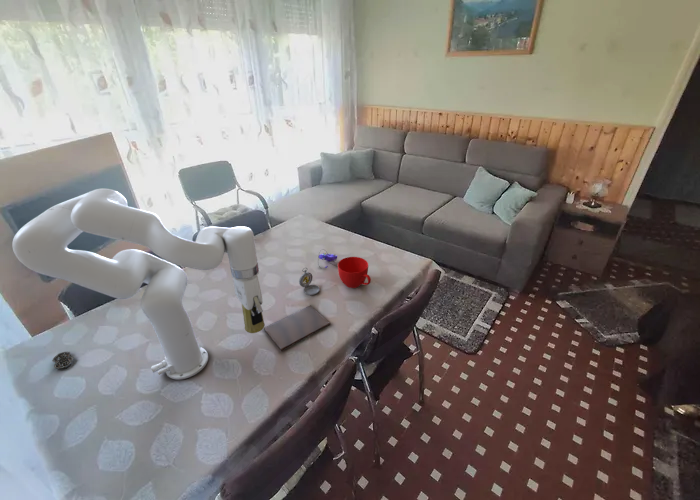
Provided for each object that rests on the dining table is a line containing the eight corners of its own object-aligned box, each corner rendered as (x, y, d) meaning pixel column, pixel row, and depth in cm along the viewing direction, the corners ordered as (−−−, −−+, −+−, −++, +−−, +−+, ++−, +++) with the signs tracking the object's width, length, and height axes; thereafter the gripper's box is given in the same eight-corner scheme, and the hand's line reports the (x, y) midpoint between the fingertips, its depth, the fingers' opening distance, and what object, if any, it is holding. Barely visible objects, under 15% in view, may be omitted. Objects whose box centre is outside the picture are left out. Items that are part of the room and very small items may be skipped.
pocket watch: (317, 297, 133) (315, 277, 128) (297, 294, 135) (295, 274, 130) (322, 285, 140) (321, 266, 135) (304, 283, 141) (302, 264, 136)
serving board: (281, 351, 108) (281, 349, 108) (264, 329, 117) (263, 327, 116) (329, 324, 119) (329, 322, 118) (310, 307, 128) (310, 305, 127)
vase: (267, 320, 105) (262, 285, 98) (260, 334, 100) (255, 297, 93) (249, 319, 106) (242, 283, 99) (241, 332, 100) (234, 296, 93)
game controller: (334, 249, 160) (342, 254, 151) (331, 264, 161) (339, 271, 153) (315, 247, 155) (322, 253, 147) (312, 263, 157) (319, 270, 148)
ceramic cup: (358, 301, 131) (358, 281, 125) (332, 282, 142) (331, 263, 137) (380, 288, 138) (381, 269, 133) (354, 272, 149) (354, 253, 144)
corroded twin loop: (70, 350, 108) (68, 348, 108) (76, 363, 104) (75, 361, 103) (51, 359, 105) (50, 357, 105) (57, 373, 101) (55, 370, 100)
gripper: (220, 260, 96) (231, 308, 105) (244, 288, 84) (253, 338, 93) (245, 253, 100) (252, 299, 109) (270, 278, 88) (277, 327, 97)
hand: (253, 317), depth 101 cm, fingers closed on vase, 5 cm apart
